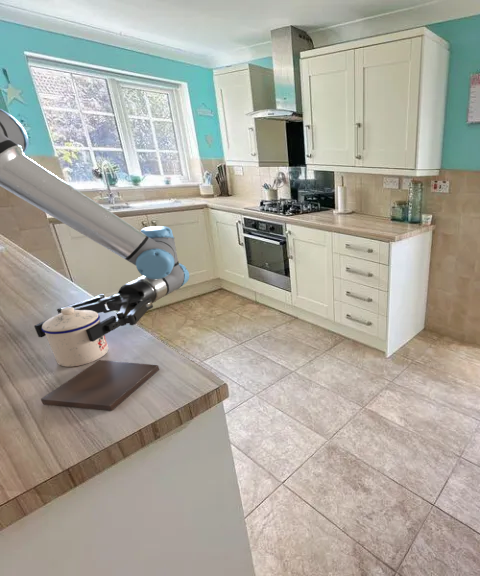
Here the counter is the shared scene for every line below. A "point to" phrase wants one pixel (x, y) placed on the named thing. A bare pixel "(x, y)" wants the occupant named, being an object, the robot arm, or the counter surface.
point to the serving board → (101, 385)
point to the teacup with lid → (74, 337)
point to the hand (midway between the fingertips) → (63, 333)
